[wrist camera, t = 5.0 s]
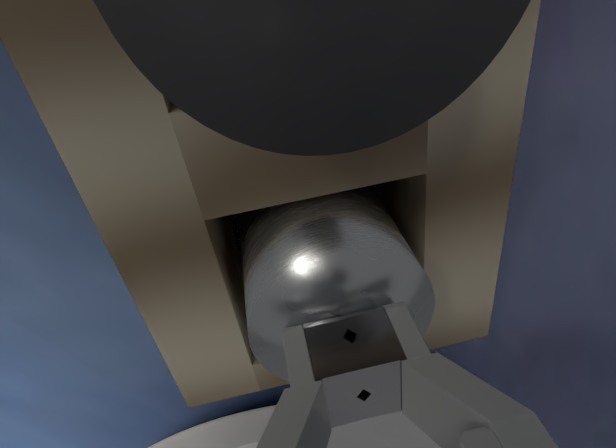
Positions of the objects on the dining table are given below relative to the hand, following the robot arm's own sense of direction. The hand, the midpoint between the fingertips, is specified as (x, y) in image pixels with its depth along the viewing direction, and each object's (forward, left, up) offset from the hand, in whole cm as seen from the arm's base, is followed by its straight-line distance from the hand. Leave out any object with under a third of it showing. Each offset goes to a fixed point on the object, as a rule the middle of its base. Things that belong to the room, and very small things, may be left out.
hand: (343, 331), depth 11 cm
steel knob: (0, 0, -5) cm, 5 cm away
